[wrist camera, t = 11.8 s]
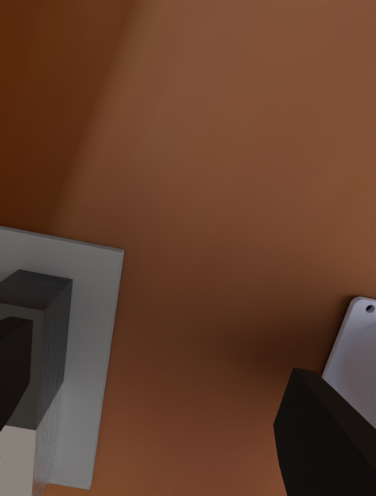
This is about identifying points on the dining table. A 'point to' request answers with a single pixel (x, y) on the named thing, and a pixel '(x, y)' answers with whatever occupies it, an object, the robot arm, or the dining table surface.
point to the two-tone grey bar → (36, 381)
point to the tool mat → (75, 336)
